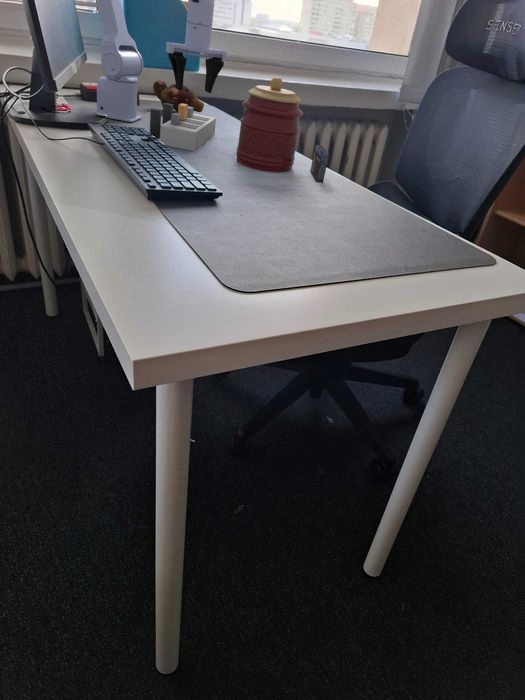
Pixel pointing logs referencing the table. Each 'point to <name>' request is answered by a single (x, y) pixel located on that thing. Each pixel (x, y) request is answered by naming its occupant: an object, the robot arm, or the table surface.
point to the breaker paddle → (183, 111)
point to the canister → (269, 128)
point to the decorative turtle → (177, 96)
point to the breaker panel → (187, 130)
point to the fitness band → (63, 106)
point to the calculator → (93, 91)
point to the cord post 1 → (155, 122)
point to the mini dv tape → (319, 163)
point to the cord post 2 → (167, 112)
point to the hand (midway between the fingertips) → (193, 90)
